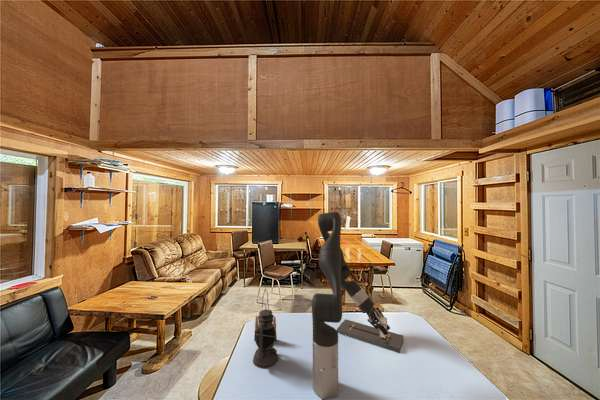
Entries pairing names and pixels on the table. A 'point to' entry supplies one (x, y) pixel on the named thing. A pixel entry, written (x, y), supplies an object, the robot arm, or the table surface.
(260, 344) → the lantern
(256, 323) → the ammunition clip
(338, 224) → the robot arm
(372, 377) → the table surface
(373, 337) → the grey fader track base
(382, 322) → the fader cap
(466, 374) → the table surface
